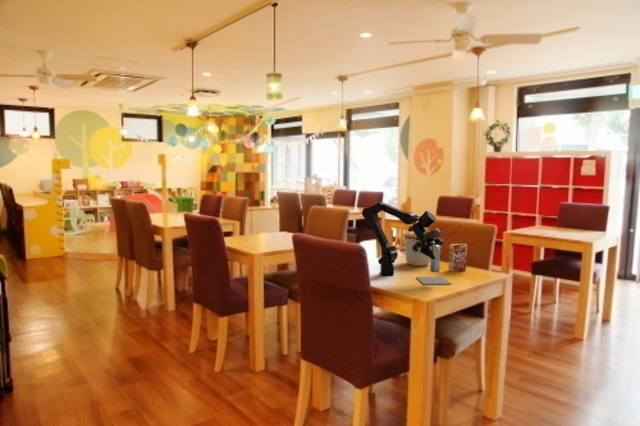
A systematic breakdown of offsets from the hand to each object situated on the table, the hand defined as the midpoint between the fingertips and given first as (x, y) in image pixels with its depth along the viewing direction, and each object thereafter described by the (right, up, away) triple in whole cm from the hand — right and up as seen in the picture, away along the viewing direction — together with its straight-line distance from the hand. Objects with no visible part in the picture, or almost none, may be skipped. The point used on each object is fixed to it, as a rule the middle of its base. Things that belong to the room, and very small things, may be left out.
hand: (437, 258), depth 218 cm
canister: (+1, -9, +49) cm, 50 cm away
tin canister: (-1, -6, +2) cm, 7 cm away
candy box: (+20, -10, +33) cm, 40 cm away
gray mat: (0, -12, +9) cm, 16 cm away
